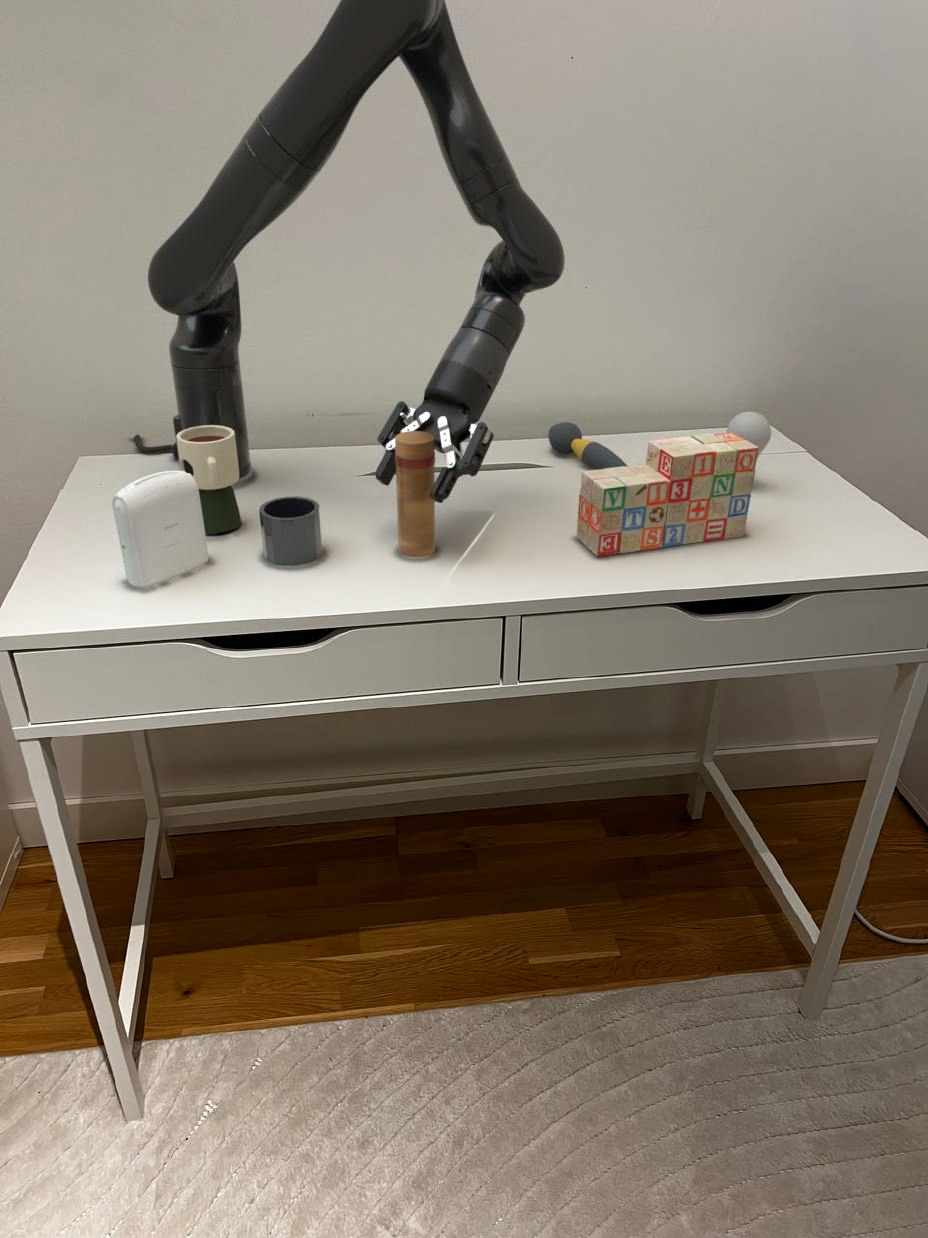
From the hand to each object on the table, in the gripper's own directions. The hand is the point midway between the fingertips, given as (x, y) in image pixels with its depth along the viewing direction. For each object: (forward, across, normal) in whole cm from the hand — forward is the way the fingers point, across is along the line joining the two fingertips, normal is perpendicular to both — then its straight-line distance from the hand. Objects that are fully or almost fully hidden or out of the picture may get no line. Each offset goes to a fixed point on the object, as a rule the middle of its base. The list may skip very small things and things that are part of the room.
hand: (407, 490), depth 116 cm
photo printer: (+22, -19, -9) cm, 30 cm away
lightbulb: (-28, +22, +40) cm, 54 cm away
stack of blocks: (-11, +22, +24) cm, 34 cm away
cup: (+12, -11, 0) cm, 17 cm away
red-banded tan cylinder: (+5, 0, +7) cm, 9 cm away
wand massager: (-23, 0, +36) cm, 43 cm away
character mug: (+13, -25, -1) cm, 28 cm away
